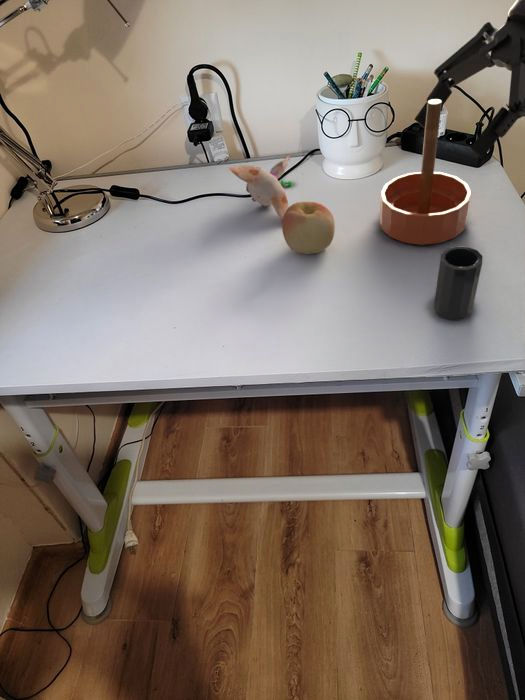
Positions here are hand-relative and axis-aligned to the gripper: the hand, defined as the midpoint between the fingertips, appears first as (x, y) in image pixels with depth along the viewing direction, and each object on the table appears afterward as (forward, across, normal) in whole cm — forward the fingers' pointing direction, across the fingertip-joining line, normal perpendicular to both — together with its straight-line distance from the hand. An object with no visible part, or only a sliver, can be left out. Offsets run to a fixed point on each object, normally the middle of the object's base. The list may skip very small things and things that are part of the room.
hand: (446, 138), depth 80 cm
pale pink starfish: (+26, +23, +5) cm, 35 cm away
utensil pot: (+19, -20, -1) cm, 28 cm away
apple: (+26, +5, +6) cm, 27 cm away
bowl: (+12, 0, -8) cm, 15 cm away
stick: (+12, 0, -8) cm, 14 cm away
